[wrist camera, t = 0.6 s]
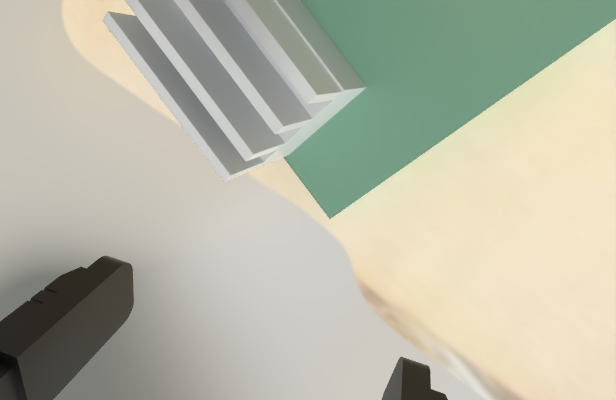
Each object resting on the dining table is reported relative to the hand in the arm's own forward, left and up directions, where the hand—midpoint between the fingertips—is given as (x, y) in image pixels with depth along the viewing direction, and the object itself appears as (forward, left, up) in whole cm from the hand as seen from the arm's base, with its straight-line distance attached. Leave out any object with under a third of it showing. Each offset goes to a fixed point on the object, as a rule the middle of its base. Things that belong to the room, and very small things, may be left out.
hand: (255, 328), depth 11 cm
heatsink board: (-13, -2, -22) cm, 25 cm away
